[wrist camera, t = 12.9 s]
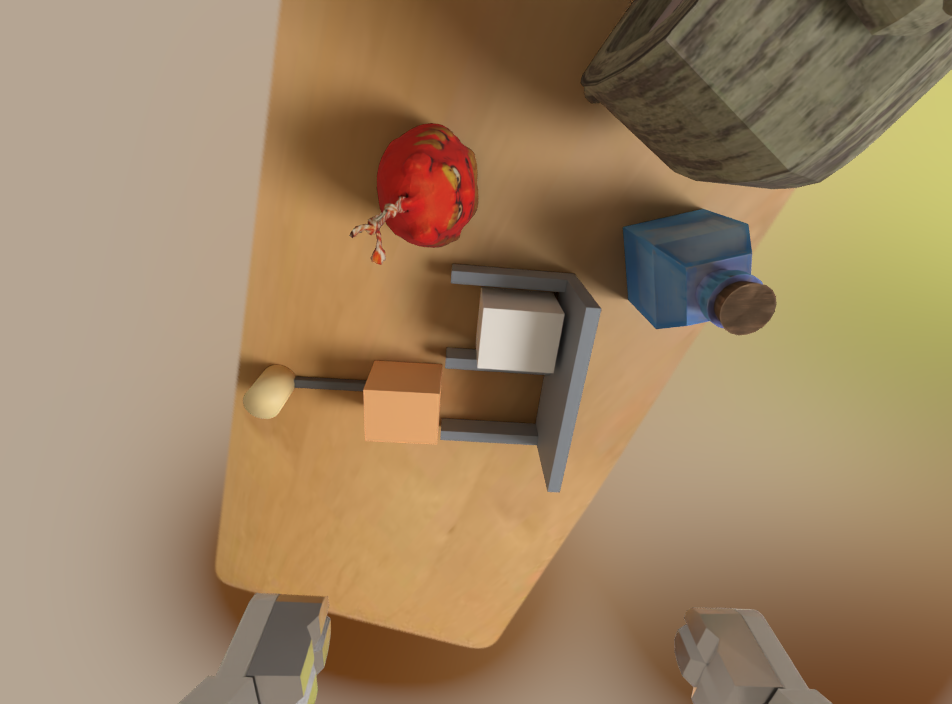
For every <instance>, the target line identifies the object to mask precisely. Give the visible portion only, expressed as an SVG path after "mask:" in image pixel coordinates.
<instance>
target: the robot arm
mask: <svg viewBox="0 0 952 704" xmlns="http://www.w3.org/2000/svg"><path fill="white" fill-rule="evenodd" d="M328 608H329V601H328V596H311V595H287V594H269V593H256V594H255V595H254V596H253V598H252V599H251V601H250V602H249V604H248V606H247V609H246V610H245V613H244V615H243V617H242V619H241V621H240V624H239V626H238V628H237V630H236V632H235V635H234V637H233V639H232V641H231V644H230V646H229V648H228V650H227V652H226V655H225V657H224V659H223V661H222V663H221V665H220V667H219V670H218V672H217V674H216V676H208V677H207V678H205V679H204V680H203V681H202V682H201V683H200V684H199V685H198V686H197V687H196V688H195V689H193V690H192V691H191V692H190V693H189V694H188V695H187V696H186V697H185V698H184V699H182V700H181V701H180V702H179V703H178V704H315V699H316V696H317V692H318V687H317V677H316V675H317V674H318V673H319V672H320V671H321V670H322V669H323V668H324V665H325V661H326V657H327V653H328V648H329V642H330V632H331V623H330V618H329V617H327V612H328ZM684 619H685V621H686V623H687V624H686V625H684V626H683V627H681V628H680V629H678V631H677V634H676V636H675V655H676V659H677V663H678V666H679V668H680V671H681V674H682V676H683V677H684V678H685V679H686V680H687V681H688V682H689V683H690V684H691V685H692V686H693V687H694V688H693V693H692V698H691V699H692V701H693V703H694V704H832V703H831V702H830V701H829V700H827V699H826V698H825V697H824V696H823V695H821V694H820V693H819V692H818V691H817V690H813V689H808V687H807V685H806V684H805V682H804V680H803V679H802V677H801V676H800V674H799V672H798V671H797V669H796V668H795V666H794V664H793V663H792V661H791V660H790V658H789V656H788V655H787V653H786V652H785V650H784V648H783V647H782V646H781V644H780V642H779V641H778V639H777V637H776V636H775V634H774V632H773V631H772V629H771V628H770V626H769V625H768V623H767V621H766V620H765V618H764V617H763V615H762V614H760V613H759V612H758V611H757V610H752V609H732V608H691V609H689V610H687V612H686V614H685V616H684Z"/></svg>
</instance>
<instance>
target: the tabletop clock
mask: <svg viewBox="0 0 952 704" xmlns="http://www.w3.org/2000/svg"><path fill="white" fill-rule="evenodd" d="M951 69H952V0H634V1H633V3H632V4H631V6H630V7H629V9H628V10H627V11H626V13H625V14H624V16H623V17H622V18H621V20H620V21H619V23H618V24H617V25H616V27H615V28H614V30H613V31H612V32H611V34H610V35H609V37H608V38H607V40H606V41H605V42H604V44H603V45H602V47H601V48H600V50H599V51H598V53H597V54H596V56H595V57H594V58H593V60H592V62H591V63H590V65H589V66H588V68H587V69H586V71H585V72H584V74H583V75H582V78H581V84H582V86H583V87H585V88H584V91H585V98H586V99H587V100H588V101H589V102H590V103H601V104H603V105H604V106H605V107H606V108H607V109H608V110H609V111H610V112H611V113H612V114H613V115H614V116H615V117H616V118H617V119H618V120H619V121H621V122H622V123H623V124H624V125H625V126H626V127H627V128H628V129H629V130H630V131H631V132H632V133H633V134H634V135H635V136H636V137H638V138H639V139H640V140H641V141H642V142H643V143H644V144H645V145H646V146H647V147H648V148H649V149H650V150H651V151H652V152H653V153H654V154H656V155H657V156H658V157H659V158H660V159H661V160H662V161H663V162H664V163H665V164H666V165H667V166H668V167H669V168H670V169H672V170H673V171H674V172H676V173H678V174H681V175H683V176H686V177H688V178H690V179H693V180H695V181H703V182H713V183H722V184H731V185H741V186H750V187H759V188H768V189H786V188H797V187H802V186H806V185H810V184H815V183H819V182H821V181H823V180H824V179H826V178H827V177H829V176H830V175H832V174H833V173H835V172H836V171H837V170H839V169H840V168H842V167H843V166H845V165H846V164H848V163H849V162H850V161H851V160H853V159H854V158H855V157H856V156H858V155H859V154H860V153H861V152H863V151H864V150H865V149H866V148H867V147H868V146H869V145H871V144H872V143H873V142H874V141H875V140H876V139H877V138H879V137H880V136H881V135H882V134H883V133H884V132H885V131H886V130H887V129H888V128H889V127H890V126H891V125H892V124H893V123H895V122H896V121H897V120H898V119H899V118H900V117H901V116H902V115H903V114H904V113H905V112H906V111H907V110H908V109H910V108H911V107H912V106H913V105H914V104H915V103H916V102H917V101H918V100H919V99H920V98H921V97H922V96H923V95H924V94H926V93H927V92H928V91H929V90H930V89H931V88H932V87H933V86H934V85H935V84H936V83H937V82H938V81H939V80H940V79H942V78H943V77H944V76H945V75H946V74H947V73H948V72H949V71H950V70H951Z"/></svg>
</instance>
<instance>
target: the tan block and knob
mask: <svg viewBox="0 0 952 704" xmlns="http://www.w3.org/2000/svg"><path fill="white" fill-rule="evenodd" d="M441 378H442V364H427V363H410V362H393V361H376V360H375V361H374V363H373V366H372V368H371V371H370V374H369V376H368V379H367V380H349V379H331V378H314V377H296V376H295V374H294V373H293V372H292V371H291V370H290V369H289V368H287V367H285V366H282V365H271V366H269V367H267V368H266V369H265V370H264V372H263V373H262V374H261V375H260V376H259V378H258V379H257V380H256V381H255V382H254V384H253V385H252V386H251V387H250V389H249V390H248V391H247V392H246V393H245V395H244V397H243V404H244V407H245V409H246V410H247V411H248V412H249V413H250V414H251V415H253V416H255V417H257V418H261V419H270V418H273V417H275V416H276V415H277V414H278V413H279V412H280V410H281V409H282V407H283V406H284V404H285V402H286V401H287V399H288V398H289V396H290V395H291V393H292V392H293V390H294V389H295V388H311V389H329V390H348V391H363V395H364V422H365V441H377V442H398V443H418V444H437V438H438V426H439V414H440V397H441Z"/></svg>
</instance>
